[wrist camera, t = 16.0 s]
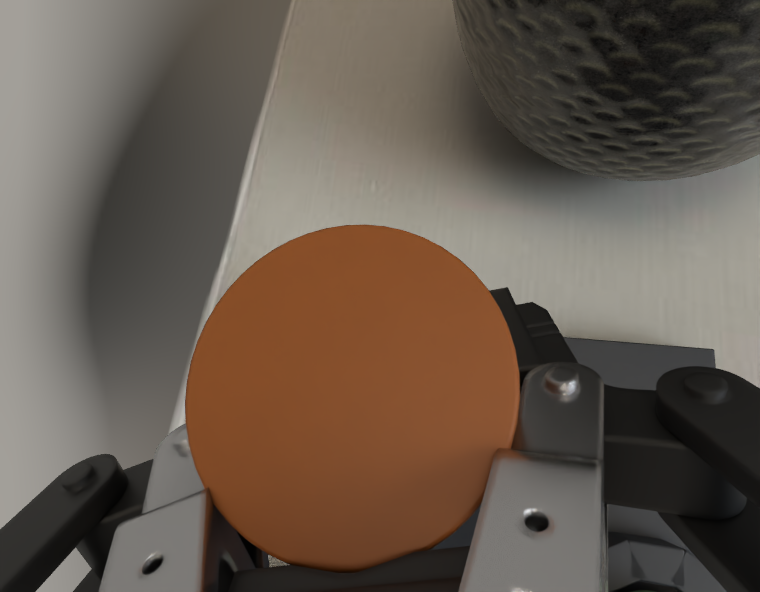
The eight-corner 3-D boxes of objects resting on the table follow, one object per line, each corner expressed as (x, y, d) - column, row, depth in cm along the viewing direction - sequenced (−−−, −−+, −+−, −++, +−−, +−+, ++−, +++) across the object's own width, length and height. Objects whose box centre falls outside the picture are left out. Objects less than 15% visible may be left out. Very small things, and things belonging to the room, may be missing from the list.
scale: (291, 642, 19) (255, 679, 16) (342, 327, 24) (321, 307, 20) (733, 753, 16) (799, 830, 13) (702, 357, 20) (746, 338, 17)
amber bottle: (340, 490, 16) (142, 536, 7) (361, 347, 17) (225, 218, 8) (490, 515, 15) (511, 615, 5) (499, 359, 16) (527, 227, 7)
